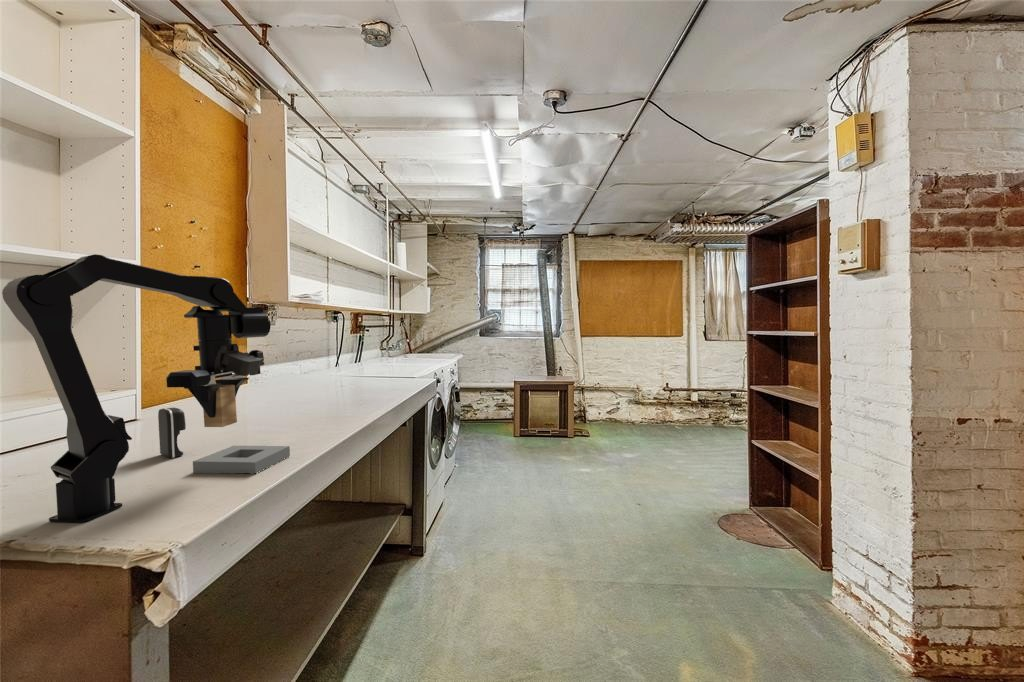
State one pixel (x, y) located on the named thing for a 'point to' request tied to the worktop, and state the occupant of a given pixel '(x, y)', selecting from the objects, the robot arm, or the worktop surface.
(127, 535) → the worktop surface
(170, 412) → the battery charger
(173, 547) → the worktop surface
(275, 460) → the socket plate
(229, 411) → the wood grain block
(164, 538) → the worktop surface
